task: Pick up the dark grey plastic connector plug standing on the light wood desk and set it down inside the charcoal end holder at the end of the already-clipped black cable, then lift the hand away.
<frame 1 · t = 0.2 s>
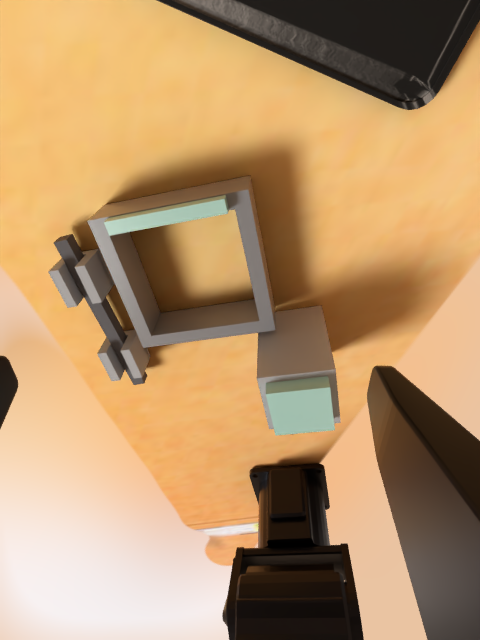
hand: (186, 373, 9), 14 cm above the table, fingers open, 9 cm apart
connector: (293, 334, 26), on the table
end holder: (195, 259, 23), on the table
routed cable: (113, 309, 25), on the table
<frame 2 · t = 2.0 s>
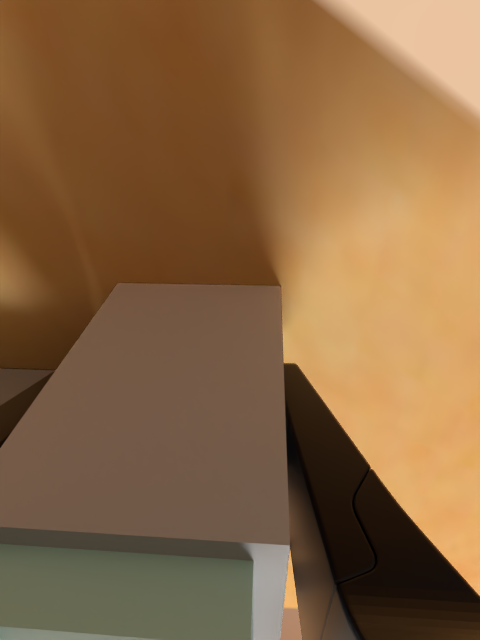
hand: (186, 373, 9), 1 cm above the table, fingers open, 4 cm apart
connector: (203, 349, 10), on the table, touching gripper
end holder: (32, 456, 14), on the table
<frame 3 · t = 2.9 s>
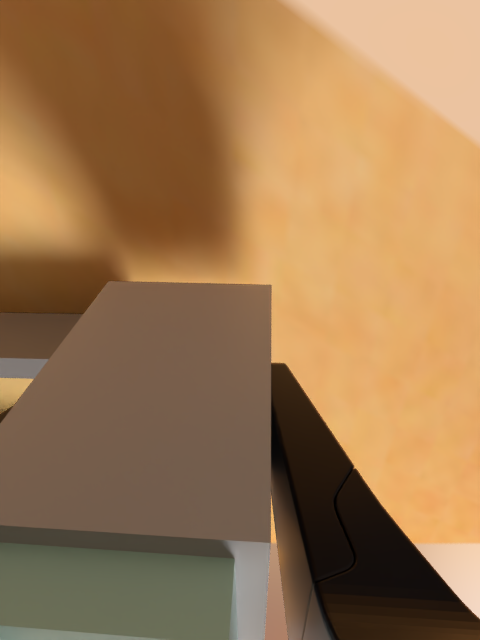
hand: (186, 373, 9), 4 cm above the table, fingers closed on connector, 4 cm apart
connector: (194, 348, 10), point 3 cm above the table, touching gripper
end holder: (63, 396, 16), on the table
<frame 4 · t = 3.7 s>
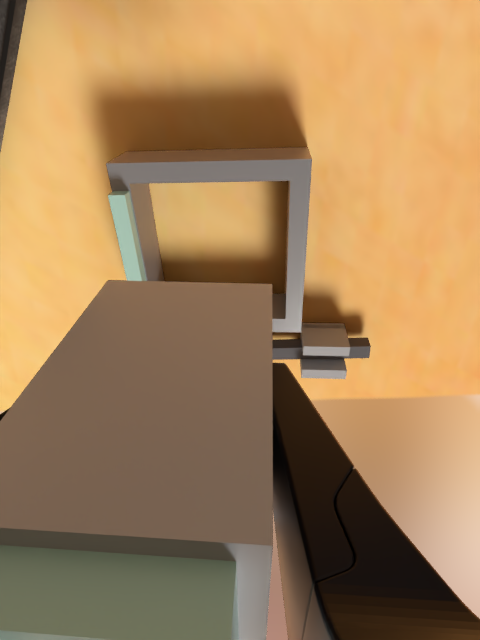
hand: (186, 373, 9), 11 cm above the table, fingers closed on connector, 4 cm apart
connector: (195, 348, 10), point 10 cm above the table, touching gripper
end holder: (220, 236, 20), on the table
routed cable: (269, 337, 23), on the table
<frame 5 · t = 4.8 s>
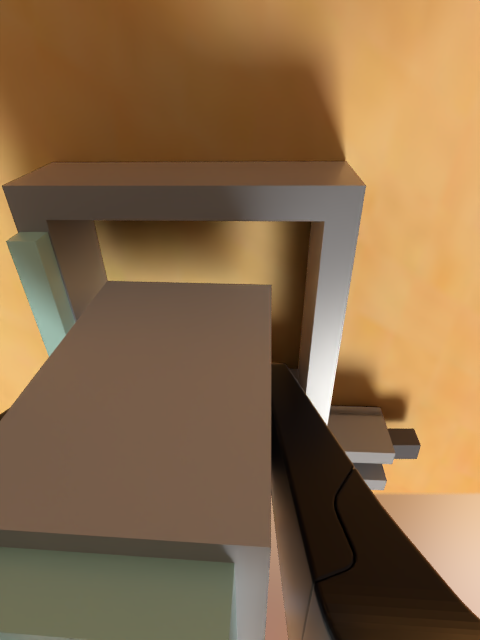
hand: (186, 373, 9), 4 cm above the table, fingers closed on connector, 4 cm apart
connector: (194, 348, 10), point 3 cm above the table, touching gripper
end holder: (205, 291, 13), on the table
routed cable: (274, 422, 16), on the table
when the fingers open (2 cm above the table, at t = 5.4 s): connector drops 1 cm, resting in end holder.
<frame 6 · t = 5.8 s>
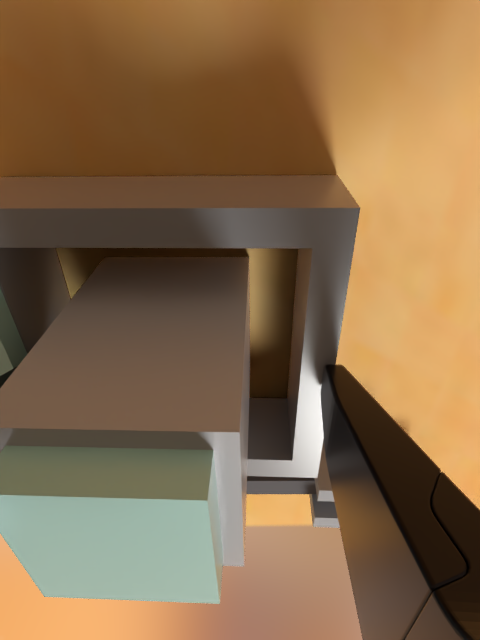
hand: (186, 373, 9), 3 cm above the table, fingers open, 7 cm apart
connector: (183, 317, 12), resting in end holder
end holder: (182, 317, 12), on the table
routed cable: (262, 453, 15), on the table
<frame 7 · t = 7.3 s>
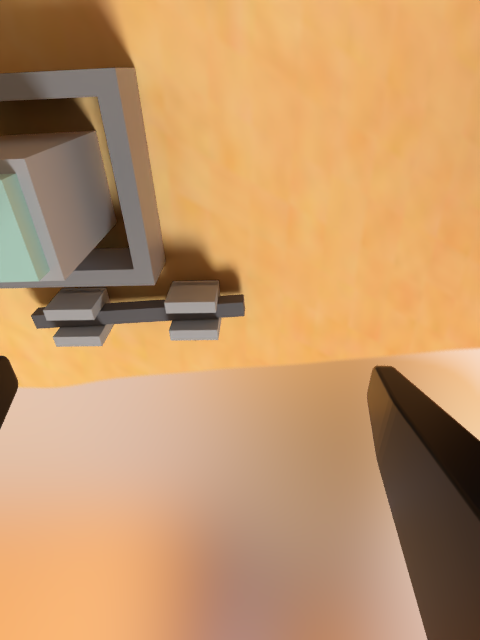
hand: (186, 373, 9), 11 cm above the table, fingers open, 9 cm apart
connector: (63, 181, 18), resting in end holder
end holder: (62, 180, 17), on the table
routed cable: (142, 300, 21), on the table
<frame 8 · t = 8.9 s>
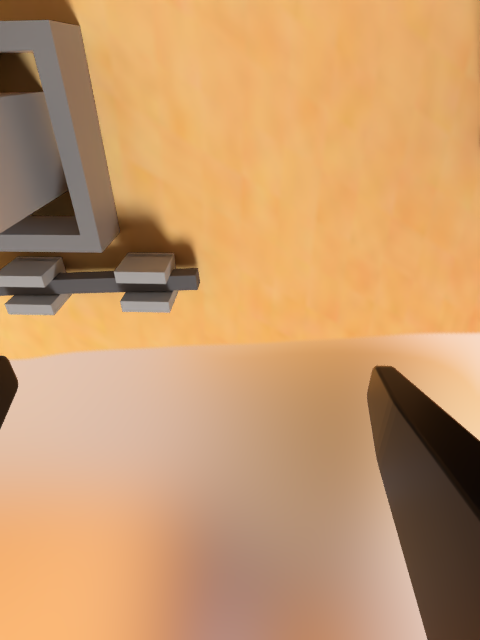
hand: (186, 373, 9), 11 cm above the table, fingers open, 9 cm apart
connector: (14, 144, 17), resting in end holder
end holder: (12, 143, 17), on the table
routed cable: (98, 271, 21), on the table
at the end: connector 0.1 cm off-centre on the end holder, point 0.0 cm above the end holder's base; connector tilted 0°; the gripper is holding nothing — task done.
